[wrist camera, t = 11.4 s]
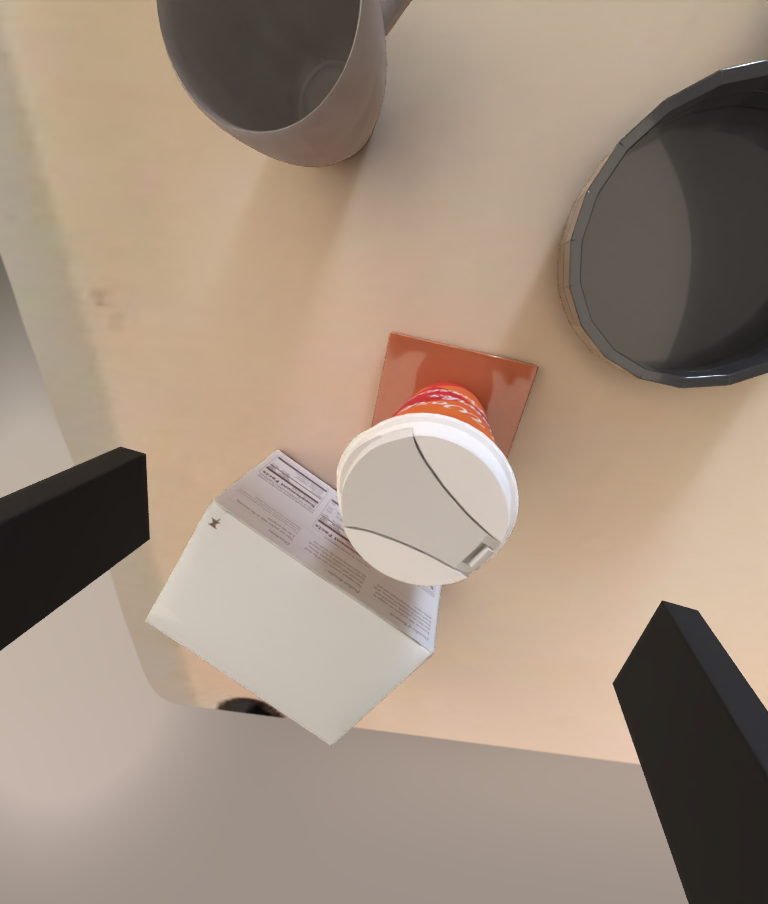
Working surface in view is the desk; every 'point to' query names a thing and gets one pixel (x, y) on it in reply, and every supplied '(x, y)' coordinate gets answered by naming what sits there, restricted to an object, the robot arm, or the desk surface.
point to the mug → (284, 70)
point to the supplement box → (294, 602)
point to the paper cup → (428, 489)
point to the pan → (678, 239)
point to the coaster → (456, 381)
